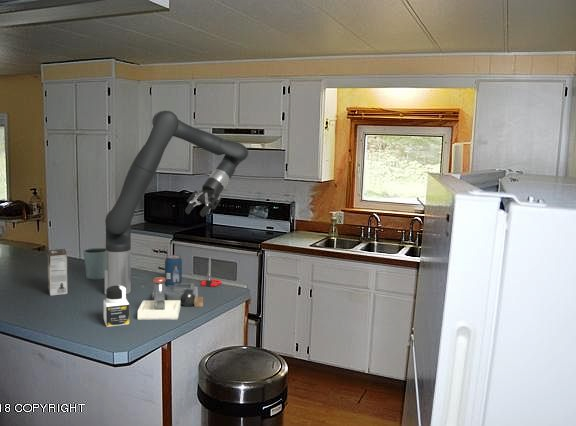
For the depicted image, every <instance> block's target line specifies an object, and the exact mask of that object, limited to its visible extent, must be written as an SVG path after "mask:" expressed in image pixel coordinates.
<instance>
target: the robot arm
mask: <svg viewBox="0 0 576 426" xmlns="http://www.w3.org/2000/svg"><path fill="white" fill-rule="evenodd" d="M173 137H175V138H178V139H181V140H183V141H186V142H188V143H190V144H192V145H194V146H196V147H198V148H200V149H202V150H205V151H206V152H209V153H211V154H213V155H217V156H222V155H224V156H223V158H222V159H221V161H220V163H219V164H218V165H217V167H216V168H215V169H214V170H213V171H212V173H211V174H210V175H209V176H208V177H207V179H206V180H205V182H204V183H203V184H202V189H201V191H199V192H198V191H197V190H194V191H193V192H192V194H191V195H190V196H189V198H188V199H186V202H187V204H188V205H187V206H186V207H185V209H184V212H185V214H187V215H189V214H190V213H191V211H192V210H193V209H194V208H195V207H196V206H200V205H203V204H204V205H205V206H203V208H202V209H201V210H200V212H199V216H201V217H203V218H204V217H205V216H206V215H207V214H208V212H209V211H210V210H215V209H216V208H217V206H218V205H219V203H220V202H221V200H222V197H221V194H222V192H223V191H224V190H225V188H226V187H227V185H228V183H229V182H230V180H231V179H232V177H233V176H234V174H235V173H236V169H237V167H238V165H240V164H241V163H242V162H243V161H245V160H246V159H247V158H248V156H249V150H248V148H247V147H246V146H245V145H244V144H242V143H240V142H237V141H233V140H229V139H225V138H221V137H219V136H218V135H215V134H213V133H211V132H208V131H205V130H202V129H200V128H197V127H194V126H191V125H190V124H187V123H186V122H183V121H182V120H180V119H179V118H178V116H177V114H175V113H174V112H173V111H170V110H160V111H159V112H156V113H155V115H154V116H153V117H152V129H151V131H150V133H149V135H148V138H147V140H146V142H145V144H144V145H143V146H142V148H141V149H140V150H139V151H138V153H137V155H136V156H135V158H134V160H133V161H132V163H131V165H130V167H129V169H128V171H127V173H126V176H125V179H124V182H123V186H122V187H121V192H120V194H119V196H118V198H117V200H116V202H115V203H114V205H113V207H112V208H111V210H109V211H108V212H107V214H106V216H105V220H104V222H105V248H106V270H105V271H104V273H105V278H104V295H106V289H107V288H109V287H111V286H117V285H118V286H123V287H125V288H126V295H128V294H130V293H131V290H132V289H131V288H132V285H131V281H132V277H131V276H132V275H131V274H132V273H131V272H132V270H131V269H132V266H131V265H132V264H131V263H132V262H131V261H132V259H131V258H132V257H131V254H132V250H131V249H132V247H131V245H132V243H131V242H132V240H131V237H132V236H131V233H132V229H131V228H132V226H131V225H132V220H133V218H134V215H135V212H136V210H137V207H138V206H139V203H140V201H141V199H142V198H143V197H144V195H145V194H146V192H147V190H148V188H149V186H150V185H151V183H152V180H153V178H154V176H155V175H156V172H157V170H158V167H159V165H160V163H161V161H162V158H163V155H164V153H165V150H166V148H167V146H168V145H169V143H170V141H171V139H173ZM192 212H193V211H192Z"/></svg>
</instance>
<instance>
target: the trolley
mask: <svg viewBox="0 0 576 426" xmlns="http://www.w3.org/2000/svg"><path fill="white" fill-rule="evenodd" d="M198 288H199V287H198V286H195V283H187V282H186V283H182V282H181V283H175V284H174V286H168V285H165V300H181V305H182V306H183V307H187V308H188V307H189V308H190V307H192V306H193V305H194V306H195V297H199V291H198ZM151 296H152V297H151V300H154V290H153V291H152V295H151Z"/></svg>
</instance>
